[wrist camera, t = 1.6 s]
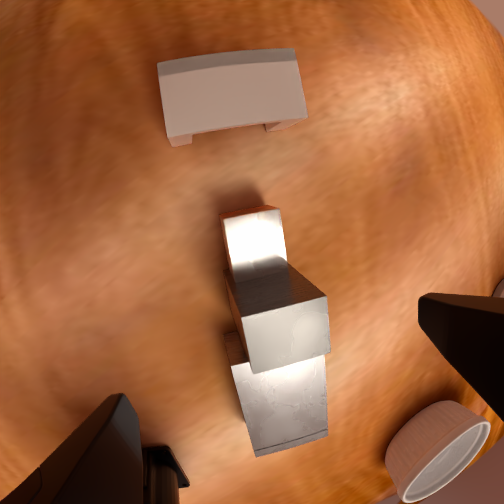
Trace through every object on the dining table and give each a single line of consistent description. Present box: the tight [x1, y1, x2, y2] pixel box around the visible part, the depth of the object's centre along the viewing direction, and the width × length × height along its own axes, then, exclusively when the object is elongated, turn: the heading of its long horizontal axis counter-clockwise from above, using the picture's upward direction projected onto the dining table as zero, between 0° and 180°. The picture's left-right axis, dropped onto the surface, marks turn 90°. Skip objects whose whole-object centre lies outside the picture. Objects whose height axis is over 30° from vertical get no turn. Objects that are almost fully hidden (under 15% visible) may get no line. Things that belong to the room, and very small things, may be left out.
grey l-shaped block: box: [219, 205, 331, 375], centre depth 17 cm, size 16×4×7 cm, turn 10°
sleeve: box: [223, 331, 328, 457], centre depth 20 cm, size 9×6×4 cm, turn 10°
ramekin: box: [385, 400, 490, 503], centre depth 26 cm, size 13×13×7 cm
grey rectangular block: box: [157, 48, 308, 147], centre depth 15 cm, size 4×7×4 cm, turn 100°
